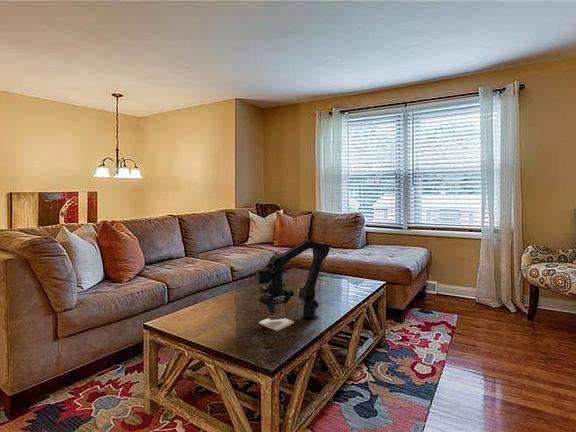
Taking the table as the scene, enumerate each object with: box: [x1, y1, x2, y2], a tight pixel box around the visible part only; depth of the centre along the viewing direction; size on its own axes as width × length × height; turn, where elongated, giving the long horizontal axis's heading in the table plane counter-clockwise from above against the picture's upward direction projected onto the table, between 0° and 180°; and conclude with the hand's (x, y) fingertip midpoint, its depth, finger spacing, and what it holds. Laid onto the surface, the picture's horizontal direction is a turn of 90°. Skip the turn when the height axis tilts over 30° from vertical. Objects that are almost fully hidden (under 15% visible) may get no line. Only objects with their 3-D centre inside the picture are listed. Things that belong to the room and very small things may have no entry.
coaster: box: [258, 317, 295, 332], centre depth 169 cm, size 12×12×1 cm
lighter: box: [268, 298, 286, 320], centre depth 168 cm, size 8×3×10 cm, turn 105°
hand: (276, 313), depth 168 cm, fingers closed on lighter, 7 cm apart
